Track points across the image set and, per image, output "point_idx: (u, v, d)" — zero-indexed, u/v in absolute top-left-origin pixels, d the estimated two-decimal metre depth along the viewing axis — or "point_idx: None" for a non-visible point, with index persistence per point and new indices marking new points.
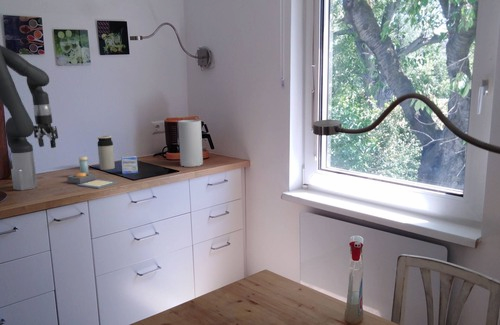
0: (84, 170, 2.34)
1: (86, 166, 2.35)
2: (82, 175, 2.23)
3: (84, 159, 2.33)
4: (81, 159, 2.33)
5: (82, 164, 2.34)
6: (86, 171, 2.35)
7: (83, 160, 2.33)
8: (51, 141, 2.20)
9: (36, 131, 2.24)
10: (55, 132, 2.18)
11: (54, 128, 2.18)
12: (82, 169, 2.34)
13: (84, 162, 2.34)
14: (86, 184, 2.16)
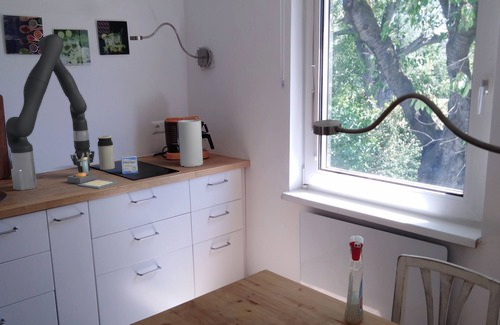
0: (84, 170, 2.34)
1: (86, 166, 2.35)
2: (82, 175, 2.23)
3: (84, 159, 2.33)
4: None
5: (82, 164, 2.34)
6: (86, 171, 2.35)
7: (83, 160, 2.33)
8: (89, 165, 2.38)
9: None
10: None
11: None
12: None
13: (84, 162, 2.34)
14: (86, 184, 2.16)
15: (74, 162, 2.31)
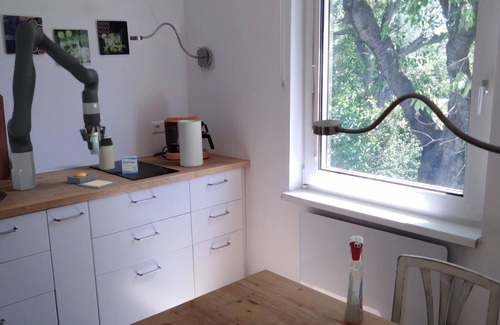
0: (94, 147, 2.13)
1: (96, 142, 2.13)
2: (82, 175, 2.23)
3: (94, 134, 2.12)
4: None
5: (92, 140, 2.12)
6: (96, 148, 2.14)
7: None
8: (99, 141, 2.16)
9: None
10: None
11: None
12: None
13: (94, 137, 2.12)
14: (86, 184, 2.16)
15: (83, 137, 2.10)
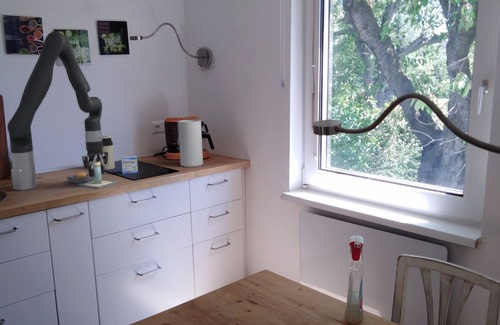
0: (97, 176, 2.16)
1: (99, 172, 2.16)
2: (82, 175, 2.23)
3: (97, 164, 2.15)
4: (94, 165, 2.14)
5: (95, 170, 2.15)
6: (99, 177, 2.16)
7: (96, 166, 2.14)
8: (103, 167, 2.19)
9: None
10: None
11: None
12: (95, 175, 2.15)
13: (96, 168, 2.15)
14: (86, 184, 2.16)
15: (85, 164, 2.12)
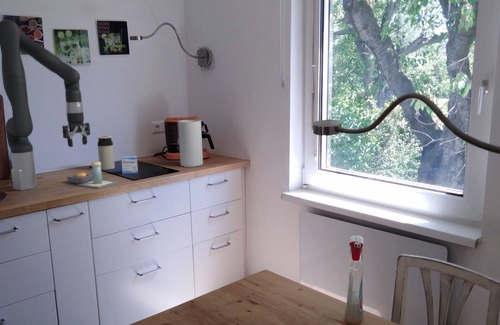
0: (97, 176, 2.16)
1: (99, 172, 2.16)
2: (82, 175, 2.23)
3: (97, 164, 2.15)
4: (94, 164, 2.14)
5: (95, 170, 2.15)
6: (99, 177, 2.16)
7: (96, 166, 2.15)
8: (86, 138, 2.24)
9: None
10: None
11: None
12: (95, 175, 2.15)
13: (97, 168, 2.15)
14: (86, 184, 2.16)
15: (64, 134, 2.15)
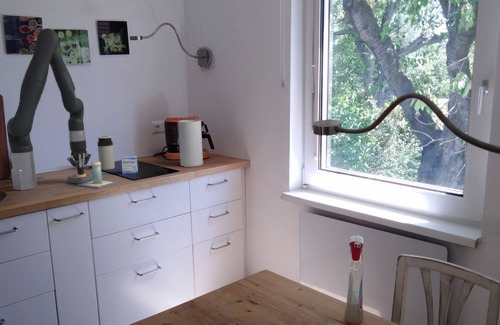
0: (97, 176, 2.16)
1: (99, 172, 2.16)
2: (82, 176, 2.23)
3: (97, 164, 2.15)
4: (94, 164, 2.14)
5: (95, 170, 2.15)
6: (99, 177, 2.16)
7: (96, 166, 2.15)
8: (82, 168, 2.24)
9: None
10: None
11: None
12: (95, 175, 2.15)
13: (97, 168, 2.15)
14: (86, 184, 2.16)
15: (73, 164, 2.21)
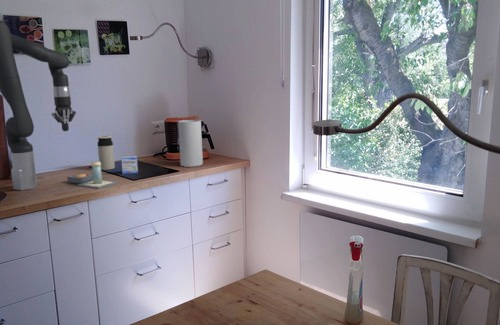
0: (97, 176, 2.16)
1: (99, 172, 2.16)
2: None
3: (97, 164, 2.15)
4: (94, 164, 2.14)
5: (95, 170, 2.15)
6: (99, 177, 2.16)
7: (96, 166, 2.15)
8: (67, 124, 2.28)
9: None
10: None
11: None
12: (95, 175, 2.15)
13: (97, 168, 2.15)
14: (86, 184, 2.16)
15: (57, 119, 2.25)
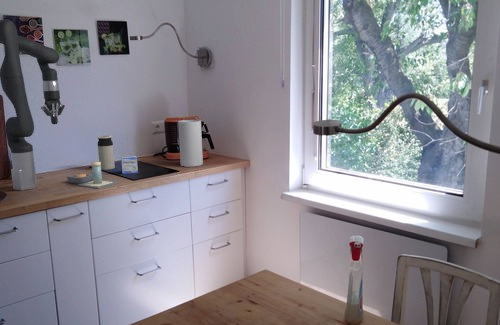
0: (97, 176, 2.16)
1: (99, 172, 2.16)
2: None
3: (97, 164, 2.15)
4: (94, 164, 2.14)
5: (95, 170, 2.15)
6: (99, 177, 2.16)
7: (96, 166, 2.15)
8: (56, 117, 2.35)
9: None
10: None
11: None
12: (95, 175, 2.15)
13: (97, 168, 2.15)
14: (86, 184, 2.16)
15: (46, 113, 2.32)
